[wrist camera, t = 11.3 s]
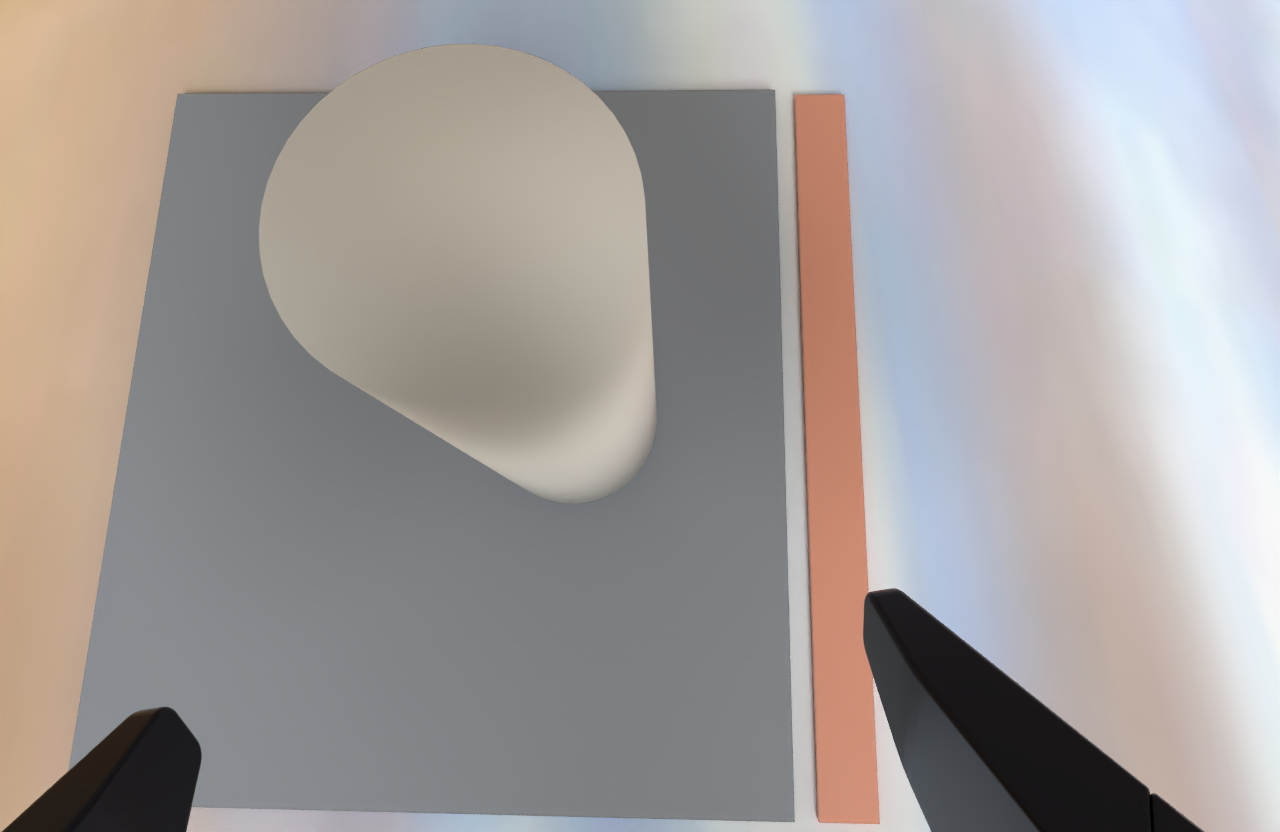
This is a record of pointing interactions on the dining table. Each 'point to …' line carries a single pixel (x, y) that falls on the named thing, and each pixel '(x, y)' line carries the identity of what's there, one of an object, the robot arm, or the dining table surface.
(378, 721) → the mat
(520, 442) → the cream teardrop shape
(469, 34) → the dining table surface
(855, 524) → the strip
